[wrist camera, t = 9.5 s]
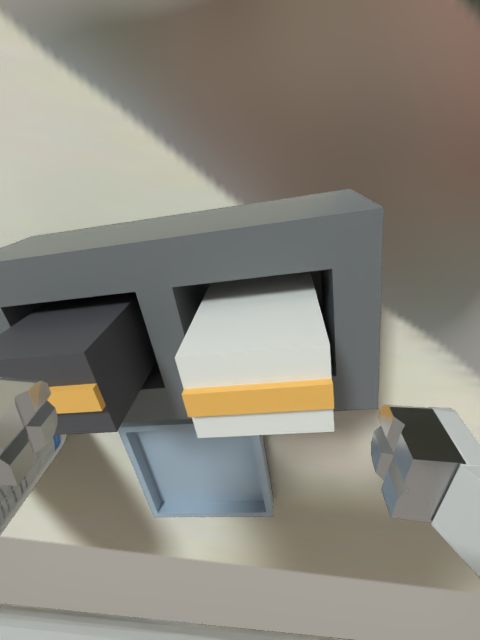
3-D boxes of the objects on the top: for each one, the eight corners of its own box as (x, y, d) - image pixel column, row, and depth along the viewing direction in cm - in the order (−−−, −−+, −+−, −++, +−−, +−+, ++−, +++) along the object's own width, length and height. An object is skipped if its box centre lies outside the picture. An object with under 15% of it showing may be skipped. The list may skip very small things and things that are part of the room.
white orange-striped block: (225, 334, 20) (196, 444, 13) (213, 275, 18) (172, 362, 11) (312, 325, 19) (335, 437, 12) (308, 264, 18) (331, 349, 10)
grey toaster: (85, 364, 24) (-24, 490, 15) (31, 236, 20) (-158, 306, 11) (352, 342, 21) (405, 480, 12) (350, 188, 17) (426, 231, 8)
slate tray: (159, 500, 30) (153, 517, 29) (125, 413, 26) (116, 427, 24) (273, 499, 28) (273, 516, 27) (257, 405, 24) (256, 420, 23)
